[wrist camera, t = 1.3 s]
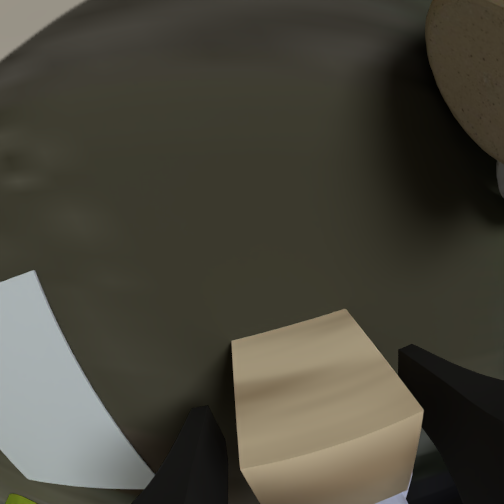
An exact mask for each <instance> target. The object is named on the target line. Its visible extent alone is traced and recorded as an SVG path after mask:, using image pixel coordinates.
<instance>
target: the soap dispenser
mask: <svg viewBox="0 0 504 504" xmlns="http://www.w3.org/2000/svg"><path fill="white" fill-rule="evenodd" d="M5 504H37V503H35V502H33V501H31V500H29V499H27V498H25V497H22V496H20V495H17V494H10V495H9V496H8V499H7V501H6V503H5Z"/></svg>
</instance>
